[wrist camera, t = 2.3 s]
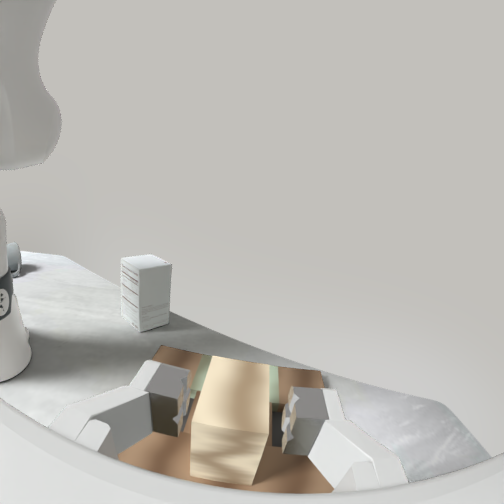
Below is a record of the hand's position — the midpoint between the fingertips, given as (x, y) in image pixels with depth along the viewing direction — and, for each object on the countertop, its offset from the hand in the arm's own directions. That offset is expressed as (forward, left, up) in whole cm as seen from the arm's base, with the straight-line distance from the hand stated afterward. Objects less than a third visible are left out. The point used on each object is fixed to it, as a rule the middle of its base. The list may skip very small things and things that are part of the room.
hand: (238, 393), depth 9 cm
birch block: (0, +13, -20) cm, 24 cm away
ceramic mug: (-66, +45, -22) cm, 83 cm away
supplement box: (-20, +41, -22) cm, 51 cm away
